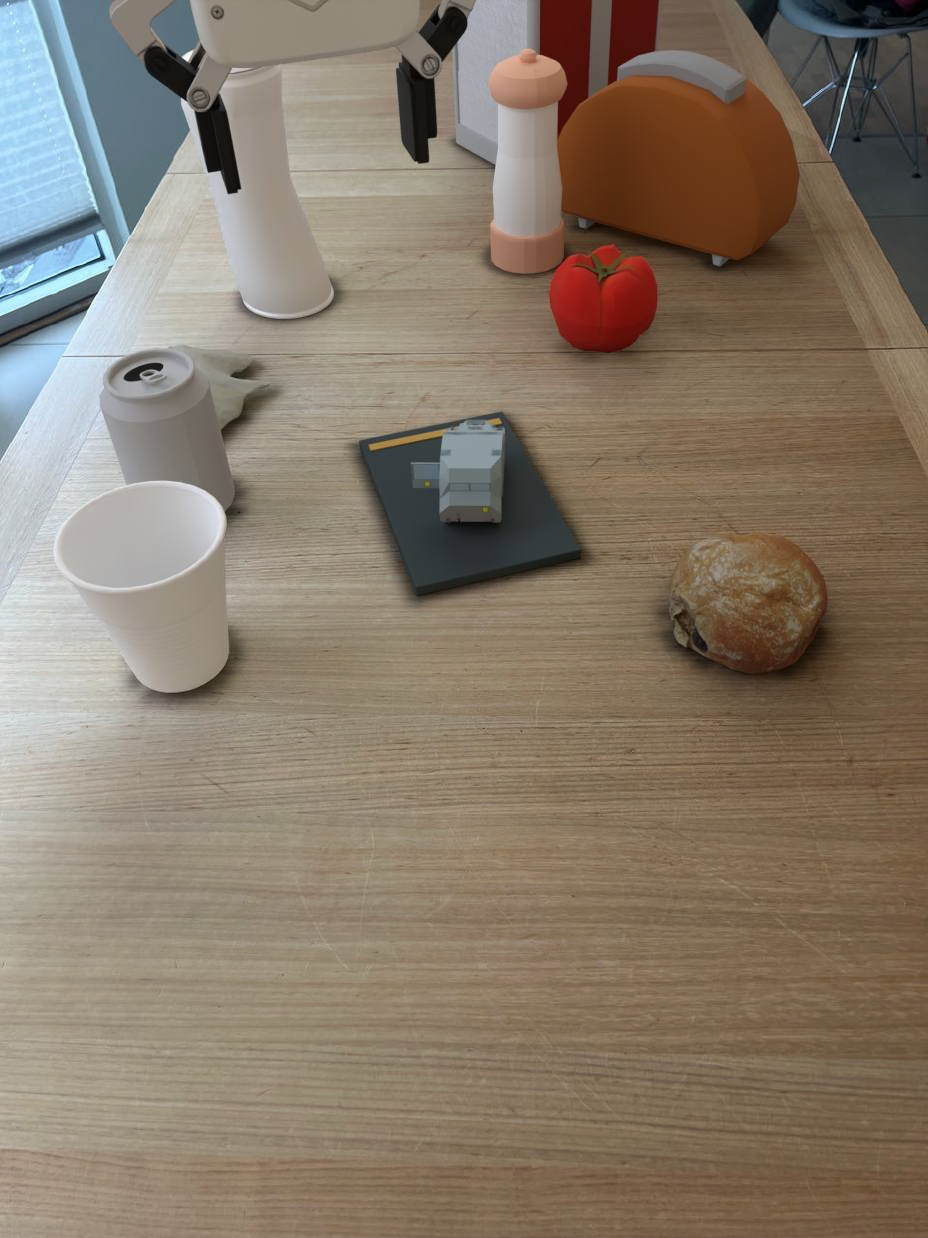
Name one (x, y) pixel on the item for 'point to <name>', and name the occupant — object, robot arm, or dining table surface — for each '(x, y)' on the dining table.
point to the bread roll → (747, 601)
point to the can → (165, 422)
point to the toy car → (467, 473)
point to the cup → (153, 578)
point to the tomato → (603, 299)
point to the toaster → (680, 156)
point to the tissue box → (545, 54)
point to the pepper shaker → (527, 164)
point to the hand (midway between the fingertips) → (324, 168)
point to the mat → (459, 547)
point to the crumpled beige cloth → (224, 379)
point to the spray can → (264, 203)
